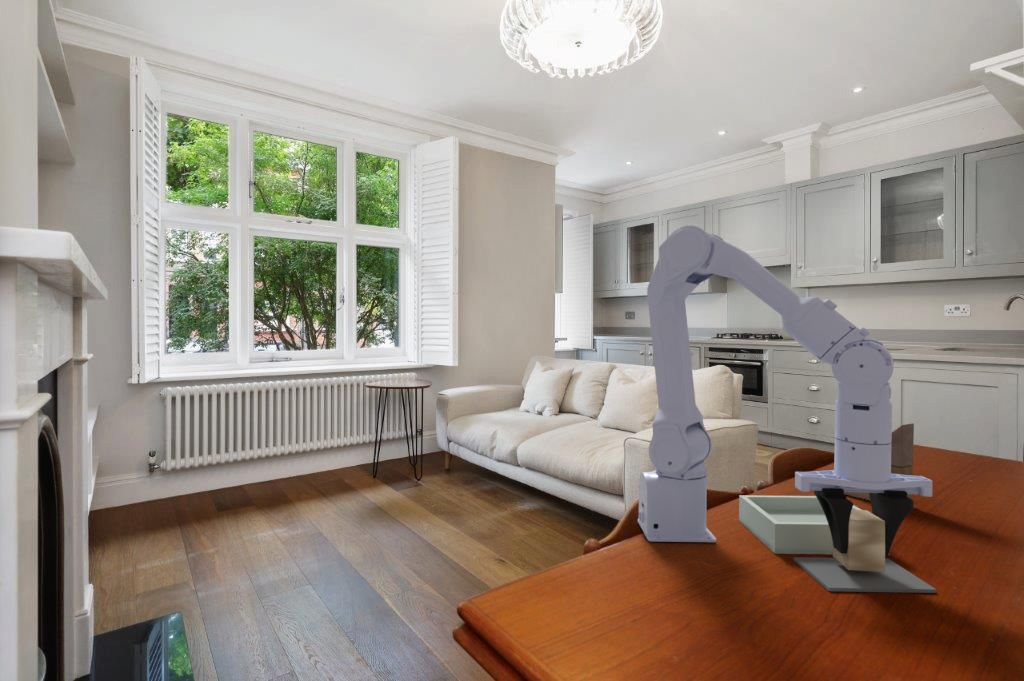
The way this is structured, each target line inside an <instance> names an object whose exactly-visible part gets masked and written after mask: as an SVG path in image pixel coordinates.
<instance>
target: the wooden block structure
mask: <svg viewBox="0 0 1024 681" xmlns="http://www.w3.org/2000/svg"><path fill="white" fill-rule="evenodd" d="M914 426H915V424H914V423H908V424H906V423H905V424H901V425H900V426H899V427H897V428H896V429H894V430H893V431H892V440H891V474H901V475H912V476H914V475H913V474H914V466H913V465H914V442H915V441H914V437H915V436H914V435H915V434H914V429H915V427H914ZM844 495H847V496H849V497H853V498H857V499H860V498H861V499H862V500H864V499H865V500H864V501H868V500H869V501H868V502H871V500H870V495H869V492H844ZM907 497H908V498H910V499H912V500H913V494H907ZM861 499H860V500H861Z"/></svg>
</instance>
